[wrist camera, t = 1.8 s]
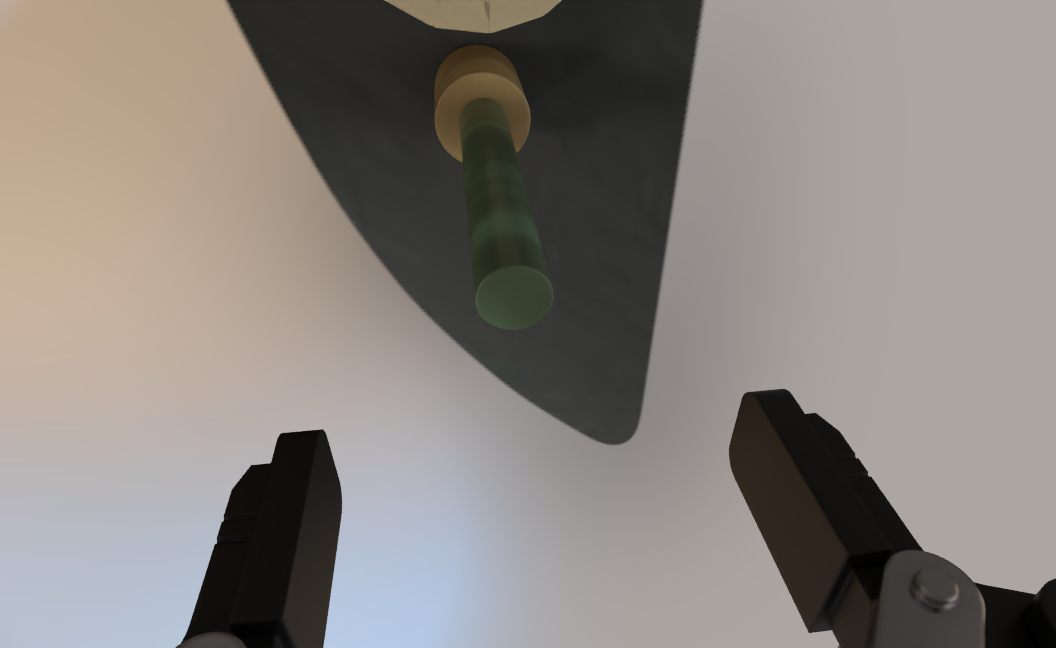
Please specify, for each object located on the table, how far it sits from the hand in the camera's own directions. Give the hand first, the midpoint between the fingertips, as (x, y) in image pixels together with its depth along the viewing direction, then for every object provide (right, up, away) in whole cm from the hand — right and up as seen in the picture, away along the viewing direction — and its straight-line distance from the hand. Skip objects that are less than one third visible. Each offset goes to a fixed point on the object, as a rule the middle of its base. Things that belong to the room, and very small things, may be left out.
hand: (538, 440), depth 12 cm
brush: (-3, +13, +18) cm, 22 cm away
